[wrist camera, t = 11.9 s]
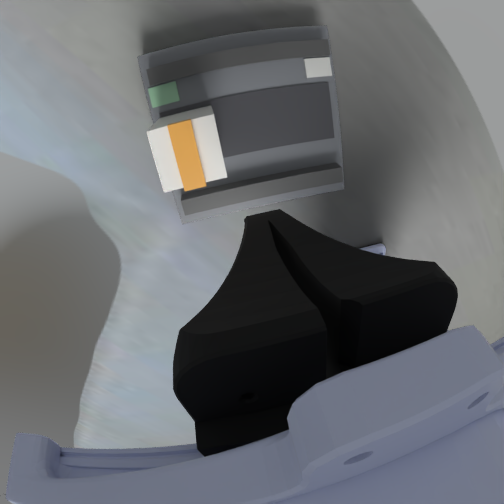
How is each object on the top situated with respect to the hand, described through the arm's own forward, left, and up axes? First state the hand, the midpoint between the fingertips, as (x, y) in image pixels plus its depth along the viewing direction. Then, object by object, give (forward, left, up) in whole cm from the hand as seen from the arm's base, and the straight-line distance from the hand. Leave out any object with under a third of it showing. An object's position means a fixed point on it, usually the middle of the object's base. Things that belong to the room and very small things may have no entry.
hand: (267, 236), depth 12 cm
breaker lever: (+3, +2, -8) cm, 9 cm away
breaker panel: (+3, -1, -10) cm, 11 cm away
